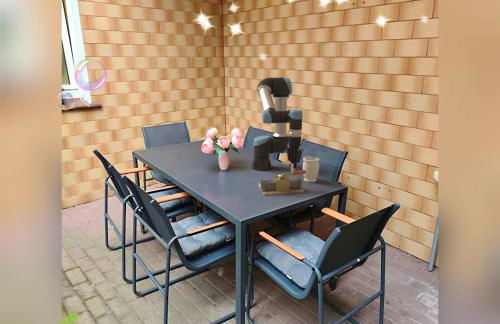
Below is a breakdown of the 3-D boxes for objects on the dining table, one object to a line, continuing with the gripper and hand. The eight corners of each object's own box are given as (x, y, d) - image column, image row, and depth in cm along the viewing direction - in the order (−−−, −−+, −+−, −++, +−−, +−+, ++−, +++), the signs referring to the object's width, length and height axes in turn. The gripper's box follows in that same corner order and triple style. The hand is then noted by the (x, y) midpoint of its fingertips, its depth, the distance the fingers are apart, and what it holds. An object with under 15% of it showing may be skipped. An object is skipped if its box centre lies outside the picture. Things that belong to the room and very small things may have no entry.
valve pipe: (260, 189, 216) (260, 176, 214) (297, 186, 221) (298, 174, 218) (263, 194, 209) (263, 181, 207) (301, 191, 213) (302, 178, 211)
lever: (279, 178, 210) (280, 174, 209) (277, 176, 213) (277, 172, 213) (306, 175, 216) (306, 171, 215) (303, 173, 219) (303, 169, 219)
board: (257, 184, 225) (257, 182, 225) (295, 182, 229) (295, 180, 229) (263, 195, 208) (263, 193, 208) (304, 192, 212) (304, 190, 212)
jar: (306, 183, 227) (307, 161, 223) (299, 178, 236) (300, 157, 232) (321, 182, 230) (322, 160, 225) (314, 177, 239) (315, 155, 235)
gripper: (282, 134, 212) (281, 171, 219) (299, 138, 203) (297, 176, 210) (291, 133, 217) (289, 169, 224) (307, 136, 208) (305, 174, 215)
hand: (293, 172), depth 217 cm, fingers closed
